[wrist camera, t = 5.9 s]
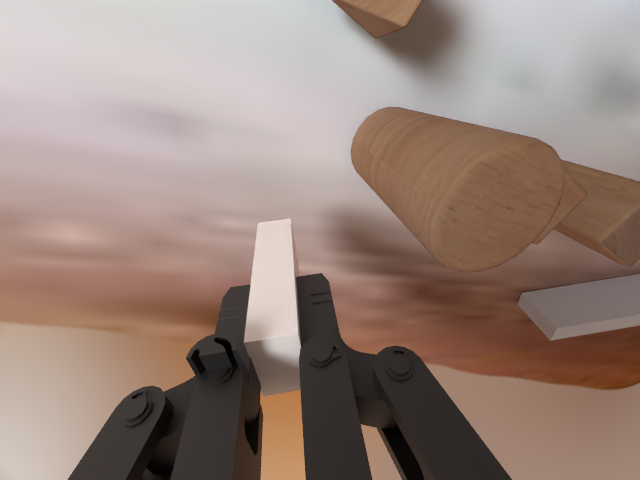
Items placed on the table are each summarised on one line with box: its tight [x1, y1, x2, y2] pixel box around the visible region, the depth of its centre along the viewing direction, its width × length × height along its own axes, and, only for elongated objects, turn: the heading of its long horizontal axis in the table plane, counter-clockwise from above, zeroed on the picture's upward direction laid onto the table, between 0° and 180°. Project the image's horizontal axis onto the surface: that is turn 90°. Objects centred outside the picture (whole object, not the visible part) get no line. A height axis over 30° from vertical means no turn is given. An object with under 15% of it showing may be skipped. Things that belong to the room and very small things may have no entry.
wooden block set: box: [332, 0, 640, 272], centre depth 13 cm, size 18×9×10 cm, turn 57°
